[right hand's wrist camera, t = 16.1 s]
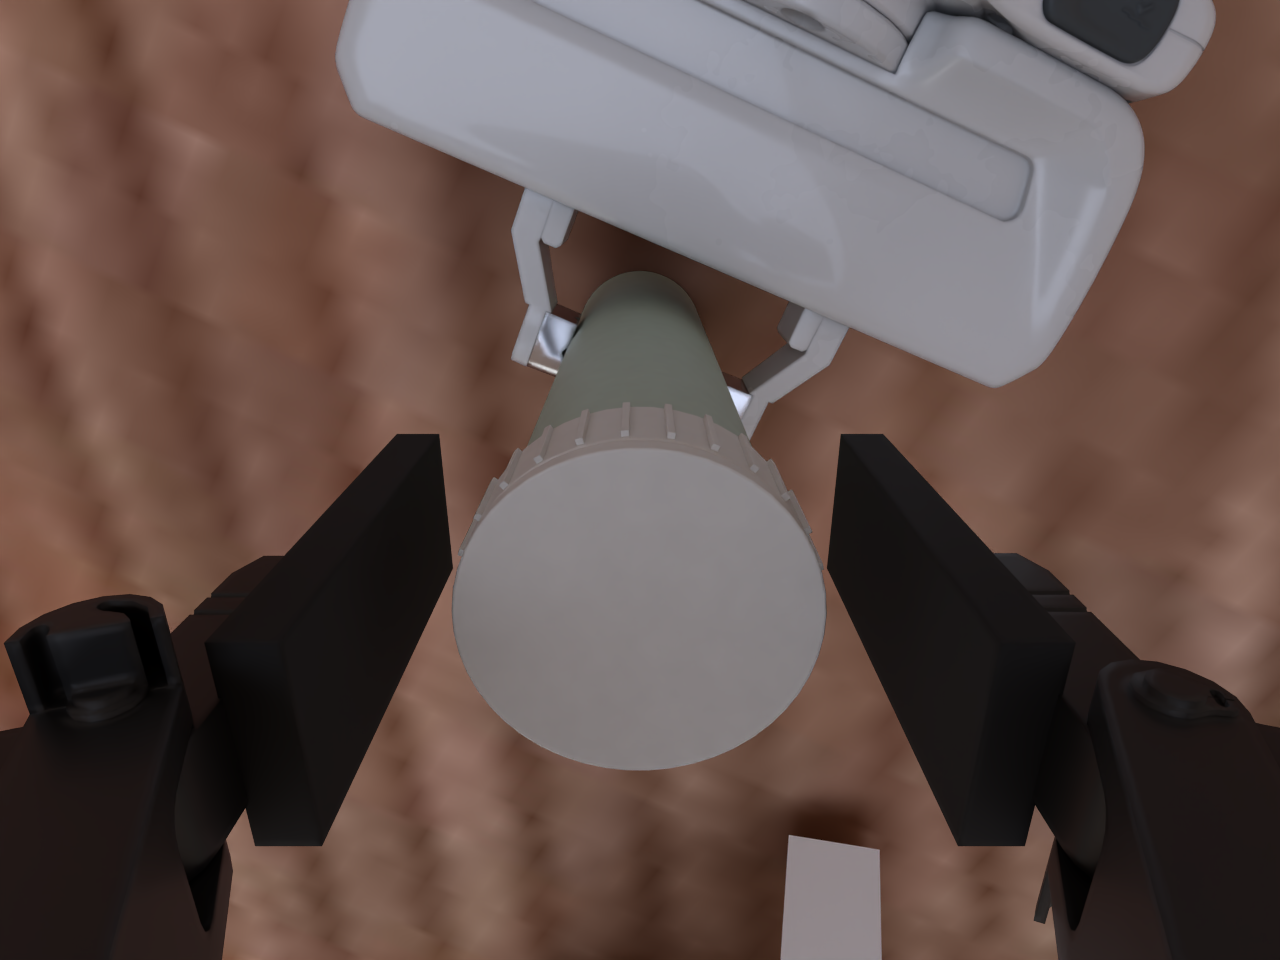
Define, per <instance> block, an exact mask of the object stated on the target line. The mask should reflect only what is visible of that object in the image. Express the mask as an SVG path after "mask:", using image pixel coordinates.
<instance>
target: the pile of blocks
mask: <svg viewBox="0 0 1280 960" xmlns="http://www.w3.org/2000/svg"><path fill="white" fill-rule="evenodd" d="M780 960H882V953H881V900H880V850H878V849H872V848H866V847H860V846H854V845H848V844H842V843H836V842H829V841H823V840H817V839H811V838H805V837H799V836H793V835H789V839H788V854H787V868H786V882H785V897H784V912H783V927H782V943H781V958H780Z"/></svg>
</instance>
